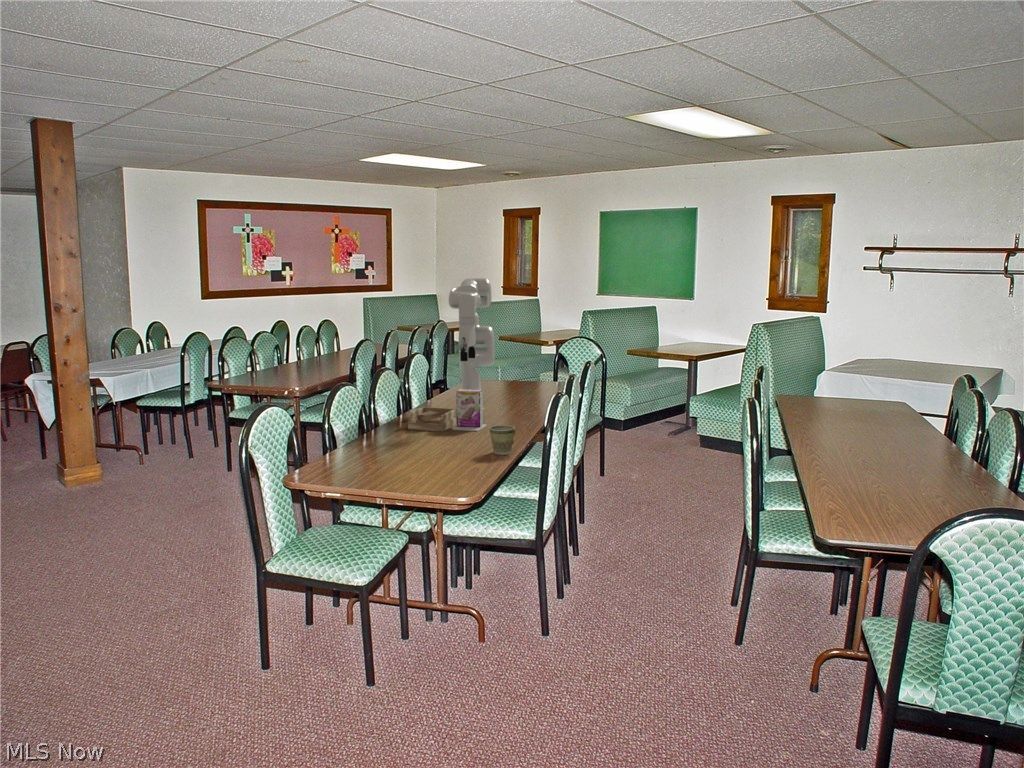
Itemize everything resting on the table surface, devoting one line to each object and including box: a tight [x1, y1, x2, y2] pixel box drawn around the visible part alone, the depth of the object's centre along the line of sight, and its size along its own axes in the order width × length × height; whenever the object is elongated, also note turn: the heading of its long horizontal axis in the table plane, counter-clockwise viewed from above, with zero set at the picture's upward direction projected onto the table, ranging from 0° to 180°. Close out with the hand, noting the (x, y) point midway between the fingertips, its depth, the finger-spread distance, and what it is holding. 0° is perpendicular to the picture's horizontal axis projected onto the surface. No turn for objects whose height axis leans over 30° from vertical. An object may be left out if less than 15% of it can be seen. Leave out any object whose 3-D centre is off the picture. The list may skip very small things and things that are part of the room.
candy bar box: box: [456, 388, 484, 427], centre depth 337 cm, size 11×5×16 cm, turn 79°
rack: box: [407, 406, 457, 432], centre depth 341 cm, size 17×17×7 cm
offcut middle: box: [415, 418, 441, 424], centre depth 338 cm, size 6×11×2 cm, turn 82°
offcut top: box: [417, 411, 439, 421], centre depth 337 cm, size 5×9×2 cm, turn 147°
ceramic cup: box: [488, 424, 524, 456], centre depth 292 cm, size 13×10×10 cm
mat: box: [451, 423, 487, 432], centre depth 338 cm, size 12×12×1 cm
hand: (468, 359), depth 336 cm, fingers open, 9 cm apart
